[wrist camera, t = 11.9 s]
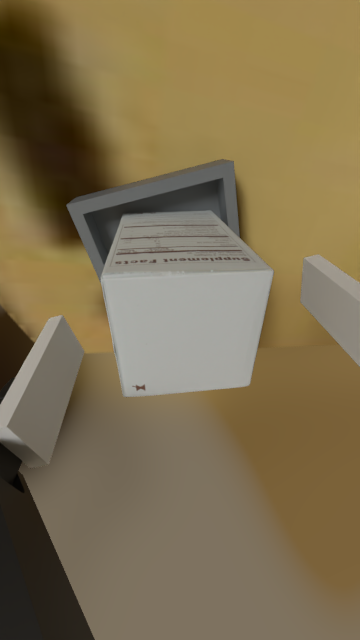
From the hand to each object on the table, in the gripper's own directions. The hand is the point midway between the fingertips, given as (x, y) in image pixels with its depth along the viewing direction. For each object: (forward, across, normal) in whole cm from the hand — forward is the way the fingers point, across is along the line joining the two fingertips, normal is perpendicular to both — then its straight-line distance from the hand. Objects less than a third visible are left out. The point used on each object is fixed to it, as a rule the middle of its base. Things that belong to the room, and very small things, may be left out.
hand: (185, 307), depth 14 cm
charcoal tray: (+10, -1, 0) cm, 11 cm away
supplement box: (+10, 0, 0) cm, 10 cm away
